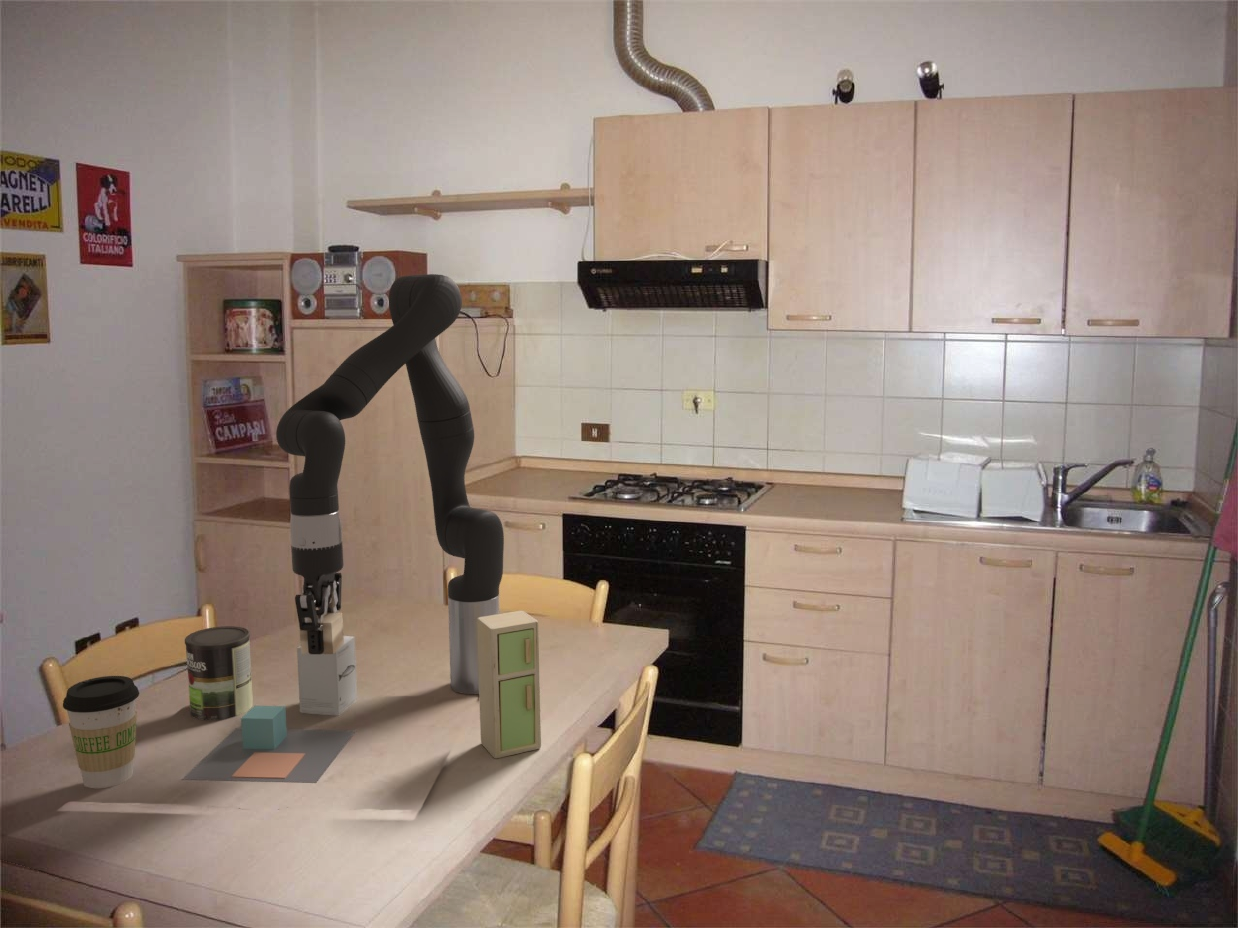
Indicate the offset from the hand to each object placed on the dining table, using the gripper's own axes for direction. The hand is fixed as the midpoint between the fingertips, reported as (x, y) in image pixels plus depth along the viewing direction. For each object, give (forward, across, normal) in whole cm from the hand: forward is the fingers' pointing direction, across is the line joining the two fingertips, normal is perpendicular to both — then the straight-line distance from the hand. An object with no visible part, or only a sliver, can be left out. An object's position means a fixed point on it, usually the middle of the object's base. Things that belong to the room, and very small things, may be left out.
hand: (322, 646), depth 153 cm
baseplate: (+17, -4, +7) cm, 19 cm away
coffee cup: (+17, -13, +28) cm, 35 cm away
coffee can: (+17, +13, +23) cm, 31 cm away
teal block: (+16, 0, +10) cm, 19 cm away
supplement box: (+17, +15, +5) cm, 23 cm away
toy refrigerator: (+17, +2, -29) cm, 34 cm away
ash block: (0, 0, 0) cm, 0 cm away
